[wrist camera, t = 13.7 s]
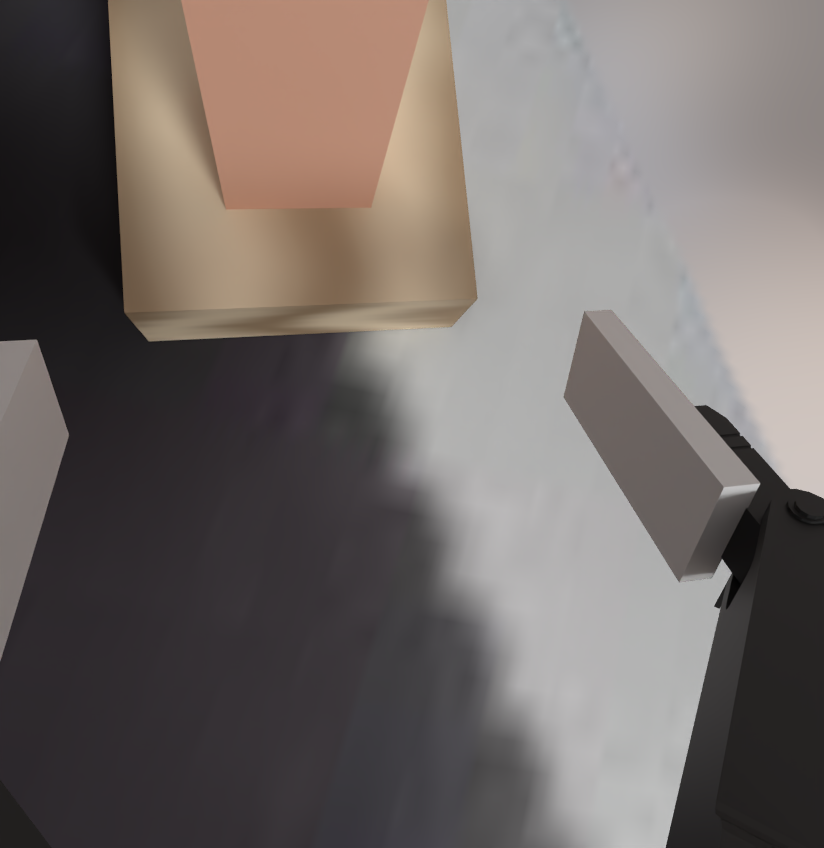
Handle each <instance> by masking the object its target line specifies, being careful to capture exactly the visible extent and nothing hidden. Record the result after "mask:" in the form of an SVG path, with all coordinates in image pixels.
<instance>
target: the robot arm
mask: <svg viewBox="0 0 824 848" xmlns="http://www.w3.org/2000/svg"><path fill="white" fill-rule="evenodd" d="M564 398H565V400H566V402H567V403H568V405H569V406H570V408H571V410H572V411H573V413H574V414H575V416H576V418H577V419H578V421H579V422H580V424H581V426H582V427H583V429H584V430H585V432H586V434H587V435H588V437H589V439H590V440H591V442H592V443H593V445H594V447H595V448H596V450H597V451H598V453H599V455H600V456H601V458H602V459H603V461H604V463H605V464H606V466H607V467H608V469H609V471H610V472H611V474H612V475H613V477H614V479H615V480H616V482H617V483H618V485H619V487H620V488H621V490H622V491H623V493H624V495H625V496H626V498H627V499H628V501H629V503H630V504H631V506H632V507H633V509H634V511H635V512H636V514H637V515H638V517H639V519H640V520H641V522H642V523H643V525H644V527H645V528H646V530H647V531H648V533H649V535H650V536H651V538H652V540H653V541H654V543H655V544H656V546H657V548H658V549H659V551H660V552H661V554H662V556H663V557H664V559H665V560H666V562H667V564H668V565H669V567H670V568H671V570H672V572H673V573H674V575H675V576H676V578H677V580H678V581H679V582H686V581H694V580H701V579H708V578H712V577H713V575H714V573H715V571H716V569H717V567H718V565H719V563H720V561H721V559H723V560H724V562H725V563H726V565H727V566H728V568H729V569H730V570H731V572H732V574H731V576H730V578H729V580H728V581H727V583H726V585H725V587H724V589H723V591H722V593H721V594H720V596H719V598H718V600H717V602H716V604H715V606H714V607H717V608H719V609H720V607H721V609H720V613H719V618H718V622H717V627H716V631H715V635H714V640H713V644H712V648H711V653H710V657H709V661H708V666H707V670H706V674H705V679H704V683H703V688H702V692H701V696H700V701H699V705H698V709H697V714H696V718H695V722H694V727H693V731H692V736H691V740H690V744H689V749H688V753H687V757H686V762H685V766H684V770H683V775H682V779H681V783H680V788H679V792H678V797H677V801H676V805H675V810H674V814H673V818H672V823H671V827H670V831H669V836H668V840H667V845H666V848H824V499H823V498H821V497H819V496H817V495H815V494H812V493H810V492H806V491H802V490H798V489H790V488H789V487H788V486H787V485H786V484H785V483H784V482H783V480H782V479H781V478H780V477H779V476H778V475H777V474H776V473H775V472H774V470H773V469H772V468H771V467H770V466H769V465H768V464H767V463H766V462H765V460H764V459H763V458H762V457H761V456H760V455H759V454H758V453H757V452H756V450H755V449H754V448H751V445H750V444H749V443H748V442H747V440H746V439H745V438H744V437H743V436H740V433H739V432H738V430H737V429H736V428H735V427H734V426H733V425H732V424H731V423H730V422H729V420H728V419H727V418H725V417H724V416H722V415H721V414H719V413H718V412H716V411H715V410H713V409H711V408H710V407H708V406H707V405H704V406H694V405H693V404H692V403H691V402H690V401H689V400H688V398H687V397H686V396H685V395H684V394H683V393H682V391H681V390H680V389H679V388H678V387H677V386H676V384H675V383H674V382H673V381H672V380H671V379H670V377H669V376H668V375H667V374H666V373H665V372H664V370H663V369H662V368H661V367H660V366H659V365H658V363H657V362H656V361H655V360H654V359H653V358H652V356H651V355H650V354H649V353H648V352H647V351H646V350H645V348H644V347H643V346H642V345H641V344H640V343H639V341H638V340H637V339H636V338H635V337H634V336H633V334H632V333H631V332H630V331H629V330H628V329H627V327H626V326H625V325H624V324H623V323H622V322H621V320H620V319H619V318H618V317H617V316H616V315H615V313H614V312H613V311H612V310H601V311H584V314H583V319H582V323H581V327H580V331H579V335H578V339H577V344H576V348H575V352H574V356H573V360H572V364H571V369H570V373H569V377H568V381H567V385H566V389H565V394H564ZM68 436H69V434H68V431H67V428H66V425H65V422H64V419H63V416H62V413H61V410H60V407H59V404H58V401H57V398H56V395H55V392H54V389H53V386H52V383H51V380H50V377H49V374H48V371H47V368H46V365H45V362H44V359H43V356H42V353H41V350H40V347H39V344H38V341H37V340H19V341H0V660H1V657H2V654H3V650H4V647H5V644H6V640H7V637H8V634H9V631H10V627H11V624H12V621H13V617H14V614H15V611H16V608H17V604H18V601H19V598H20V594H21V591H22V588H23V585H24V581H25V578H26V575H27V571H28V568H29V565H30V561H31V558H32V555H33V552H34V548H35V545H36V542H37V538H38V535H39V532H40V529H41V525H42V522H43V519H44V515H45V512H46V509H47V506H48V502H49V499H50V496H51V492H52V489H53V486H54V483H55V479H56V476H57V473H58V469H59V466H60V463H61V459H62V456H63V453H64V450H65V446H66V443H67V440H68ZM0 848H51V847H50V845H49V844H48V843H47V841H46V840H45V839H44V837H43V836H42V835H41V833H40V832H39V831H38V829H37V828H36V827H35V825H34V824H33V823H32V821H31V820H30V819H29V818H28V816H27V815H26V814H25V812H24V811H23V810H22V808H21V807H20V806H19V804H18V803H17V802H16V800H15V799H14V798H13V796H12V795H11V794H10V792H9V791H8V790H7V788H6V787H5V786H4V784H3V783H2V782H1V781H0Z"/></svg>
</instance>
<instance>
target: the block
mask: <svg viewBox="0 0 824 848" xmlns="http://www.w3.org/2000/svg"><path fill="white" fill-rule="evenodd" d="M428 1H429V0H181V2H182V7H183V12H184V16H185V21H186V26H187V30H188V35H189V40H190V44H191V49H192V54H193V58H194V63H195V68H196V72H197V77H198V82H199V86H200V91H201V96H202V100H203V105H204V110H205V114H206V119H207V124H208V128H209V133H210V138H211V142H212V147H213V151H214V156H215V161H216V165H217V170H218V175H219V179H220V184H221V189H222V193H223V198H224V203H225V207H226V209H302V208H371V206H372V203H373V199H374V195H375V192H376V188H377V185H378V181H379V177H380V174H381V170H382V167H383V163H384V159H385V156H386V152H387V149H388V145H389V141H390V138H391V134H392V131H393V127H394V123H395V120H396V116H397V113H398V109H399V106H400V102H401V98H402V95H403V91H404V88H405V84H406V80H407V77H408V73H409V70H410V66H411V62H412V59H413V55H414V52H415V48H416V44H417V41H418V37H419V34H420V30H421V26H422V23H423V19H424V16H425V12H426V9H427V5H428Z"/></svg>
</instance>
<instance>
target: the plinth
mask: <svg viewBox="0 0 824 848" xmlns="http://www.w3.org/2000/svg"><path fill="white" fill-rule="evenodd" d="M108 8H109V27H110V47H111V66H112V85H113V104H114V123H115V143H116V162H117V181H118V200H119V220H120V239H121V258H122V277H123V297H124V313H125V314H126V315H127V316H128V318H129V319H130V320H131V321H132V322H133V323H134V325H135V326H136V327H137V328H138V329H139V330H140V331H141V333H142V334H143V335H144V336H145V337H146V338H147V340H148V341H167V340H188V339H209V338H230V337H251V336H272V335H293V334H314V333H335V332H356V331H377V330H398V329H419V328H440V327H452V326H453V325H454V324H455V322H456V321H457V320H458V319H459V318H460V317H461V316H462V315H463V314H464V313H465V312H466V311H467V309H468V308H469V307H470V306H471V305H472V304H473V303H474V302H475V301H476V300H477V290H476V280H475V270H474V261H473V251H472V242H471V232H470V223H469V213H468V204H467V194H466V185H465V175H464V166H463V156H462V147H461V137H460V128H459V118H458V109H457V99H456V90H455V80H454V71H453V61H452V52H451V42H450V33H449V23H448V14H447V4H446V0H429V1H428V5H427V9H426V12H425V16H424V19H423V23H422V26H421V30H420V34H419V37H418V41H417V44H416V48H415V52H414V55H413V59H412V62H411V66H410V70H409V73H408V77H407V80H406V84H405V88H404V91H403V95H402V98H401V102H400V106H399V109H398V113H397V116H396V120H395V123H394V127H393V131H392V134H391V138H390V141H389V145H388V149H387V152H386V156H385V159H384V163H383V167H382V170H381V174H380V177H379V181H378V185H377V188H376V192H375V195H374V199H373V203H372V206H371V208H302V209H226V207H225V203H224V198H223V193H222V189H221V184H220V179H219V175H218V170H217V165H216V161H215V156H214V151H213V147H212V142H211V138H210V133H209V128H208V124H207V119H206V114H205V110H204V105H203V100H202V96H201V91H200V86H199V82H198V77H197V72H196V68H195V63H194V58H193V54H192V49H191V44H190V40H189V35H188V30H187V26H186V21H185V16H184V12H183V7H182V2H181V0H108Z"/></svg>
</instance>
